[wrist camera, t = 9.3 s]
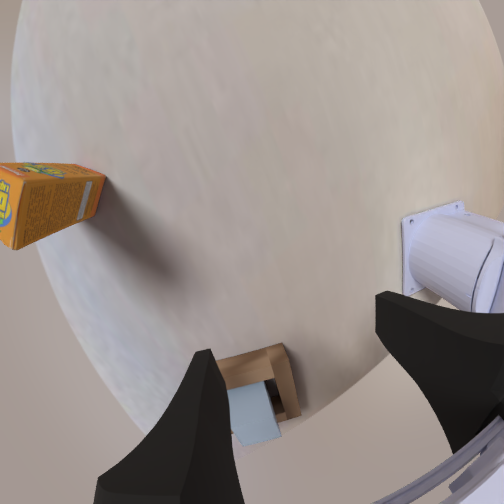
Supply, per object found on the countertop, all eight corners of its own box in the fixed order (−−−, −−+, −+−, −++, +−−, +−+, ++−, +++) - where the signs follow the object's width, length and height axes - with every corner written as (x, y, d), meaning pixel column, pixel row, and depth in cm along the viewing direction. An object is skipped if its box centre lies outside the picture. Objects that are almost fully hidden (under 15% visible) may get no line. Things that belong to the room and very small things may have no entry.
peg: (260, 368, 24) (273, 417, 18) (268, 391, 25) (281, 436, 19) (224, 378, 23) (230, 427, 18) (235, 400, 25) (242, 446, 19)
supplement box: (109, 171, 17) (26, 181, 7) (95, 216, 17) (15, 261, 8) (74, 158, 16) (-17, 162, 6) (62, 202, 17) (-27, 235, 7)
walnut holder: (281, 342, 23) (289, 360, 21) (295, 398, 26) (301, 415, 23) (190, 366, 22) (189, 385, 20) (219, 418, 25) (221, 435, 23)
